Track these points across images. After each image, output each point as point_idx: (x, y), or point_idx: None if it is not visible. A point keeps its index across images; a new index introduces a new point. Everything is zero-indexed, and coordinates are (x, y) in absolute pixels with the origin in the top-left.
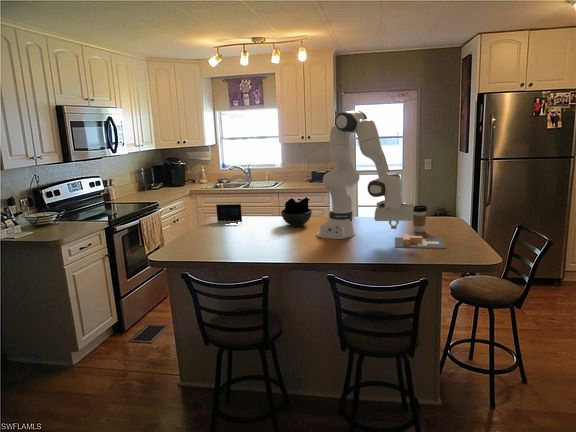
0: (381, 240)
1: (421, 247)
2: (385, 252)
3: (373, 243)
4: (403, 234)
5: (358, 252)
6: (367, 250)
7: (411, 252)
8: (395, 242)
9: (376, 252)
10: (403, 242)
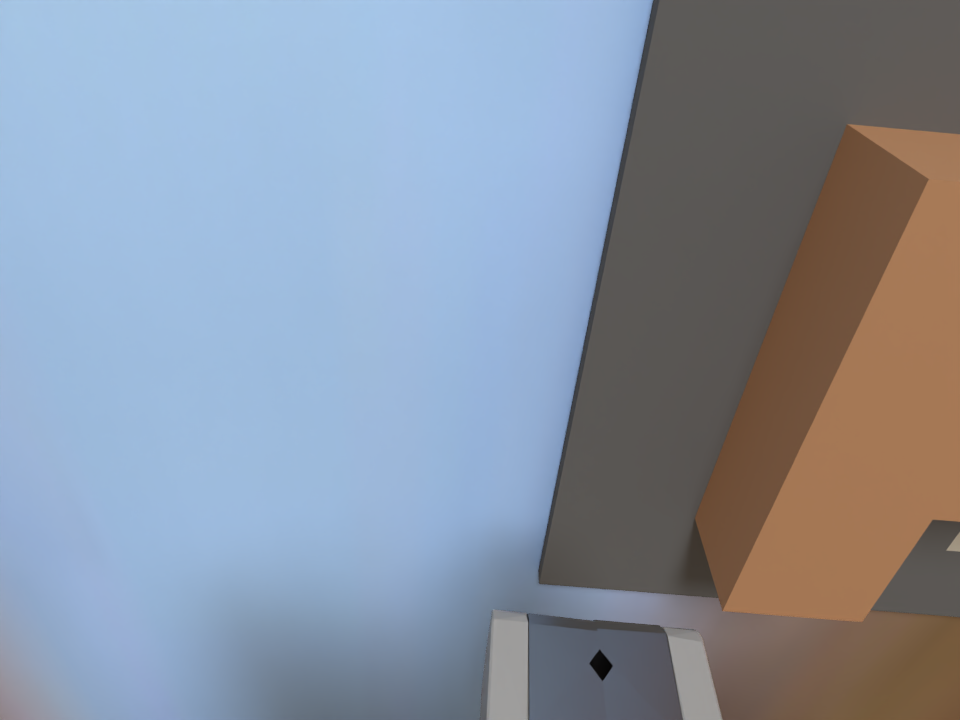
0: (267, 137)
1: (947, 611)
2: (386, 701)
3: (132, 366)
4: (928, 242)
5: (53, 690)
6: (141, 645)
7: None
8: (586, 389)
9: (274, 697)
10: (714, 554)
